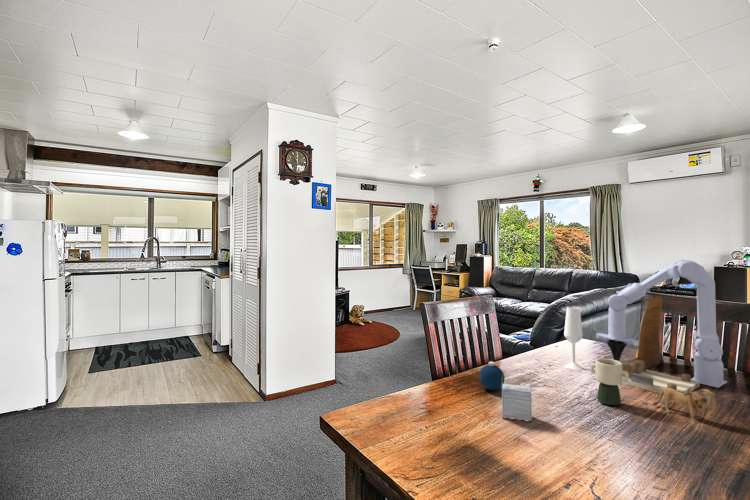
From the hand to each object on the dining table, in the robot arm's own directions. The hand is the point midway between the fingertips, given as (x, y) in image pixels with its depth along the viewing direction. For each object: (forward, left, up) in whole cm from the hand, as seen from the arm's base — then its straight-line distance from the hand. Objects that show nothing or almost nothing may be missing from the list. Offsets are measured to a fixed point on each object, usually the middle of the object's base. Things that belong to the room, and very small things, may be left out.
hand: (616, 360), depth 146 cm
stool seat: (+3, +13, -4) cm, 14 cm away
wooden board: (+3, +7, -2) cm, 8 cm away
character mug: (+34, +13, -4) cm, 37 cm away
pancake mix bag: (-19, +4, -4) cm, 19 cm away
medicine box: (+66, +3, -5) cm, 67 cm away
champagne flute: (+9, -12, -4) cm, 16 cm away
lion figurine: (+25, +29, -5) cm, 39 cm away
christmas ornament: (+55, -15, -5) cm, 58 cm away
